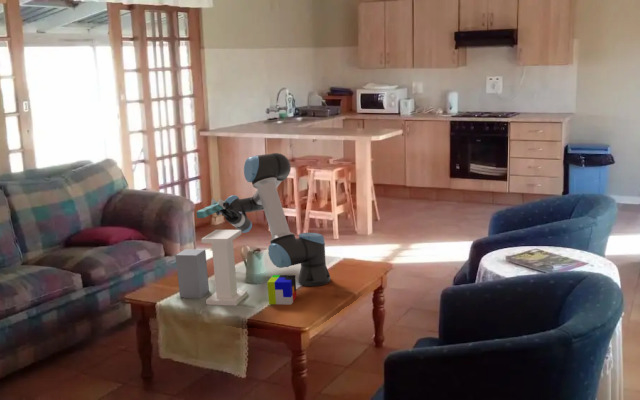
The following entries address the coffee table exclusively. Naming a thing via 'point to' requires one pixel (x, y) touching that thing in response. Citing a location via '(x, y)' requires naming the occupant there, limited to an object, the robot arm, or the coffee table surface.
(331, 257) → the coffee table surface
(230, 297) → the off-white stand
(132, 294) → the coffee table surface
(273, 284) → the puzzle toy
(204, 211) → the teal bar
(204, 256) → the slate block
